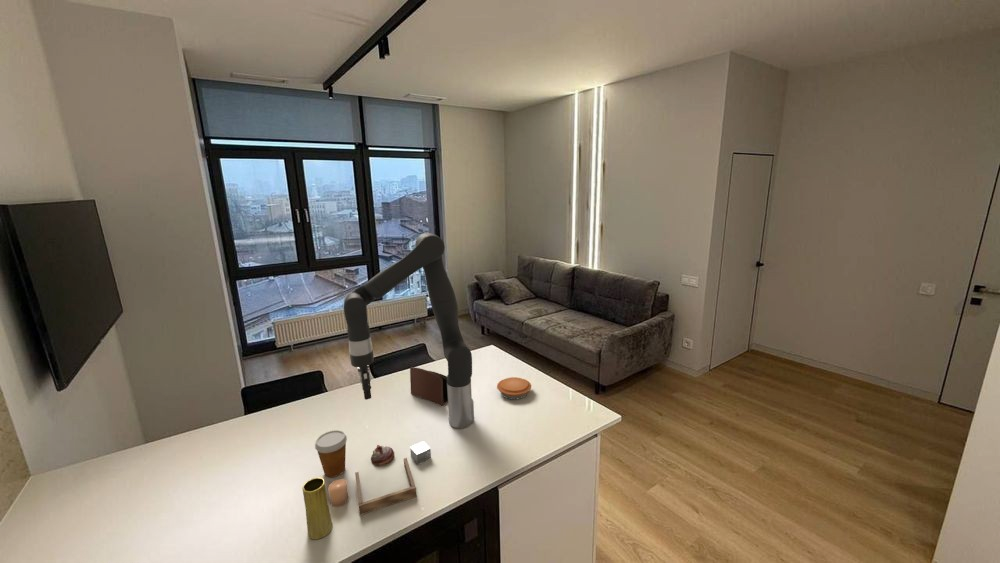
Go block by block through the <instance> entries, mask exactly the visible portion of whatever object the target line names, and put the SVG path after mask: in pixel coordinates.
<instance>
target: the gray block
mask: <svg viewBox="0 0 1000 563" xmlns="http://www.w3.org/2000/svg"><path fill="white" fill-rule="evenodd" d="M409 450H410V458H411V459H412V460H413V461H414V462H415V463H416V465H421V464H422V463H425V462H426V461H429V460H430V459H432V452H431V448H430V446H429V445H428V444H427V443H426V442H425V441H420V442H419V443H416V444H414V445H412V446H409Z"/></svg>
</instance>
